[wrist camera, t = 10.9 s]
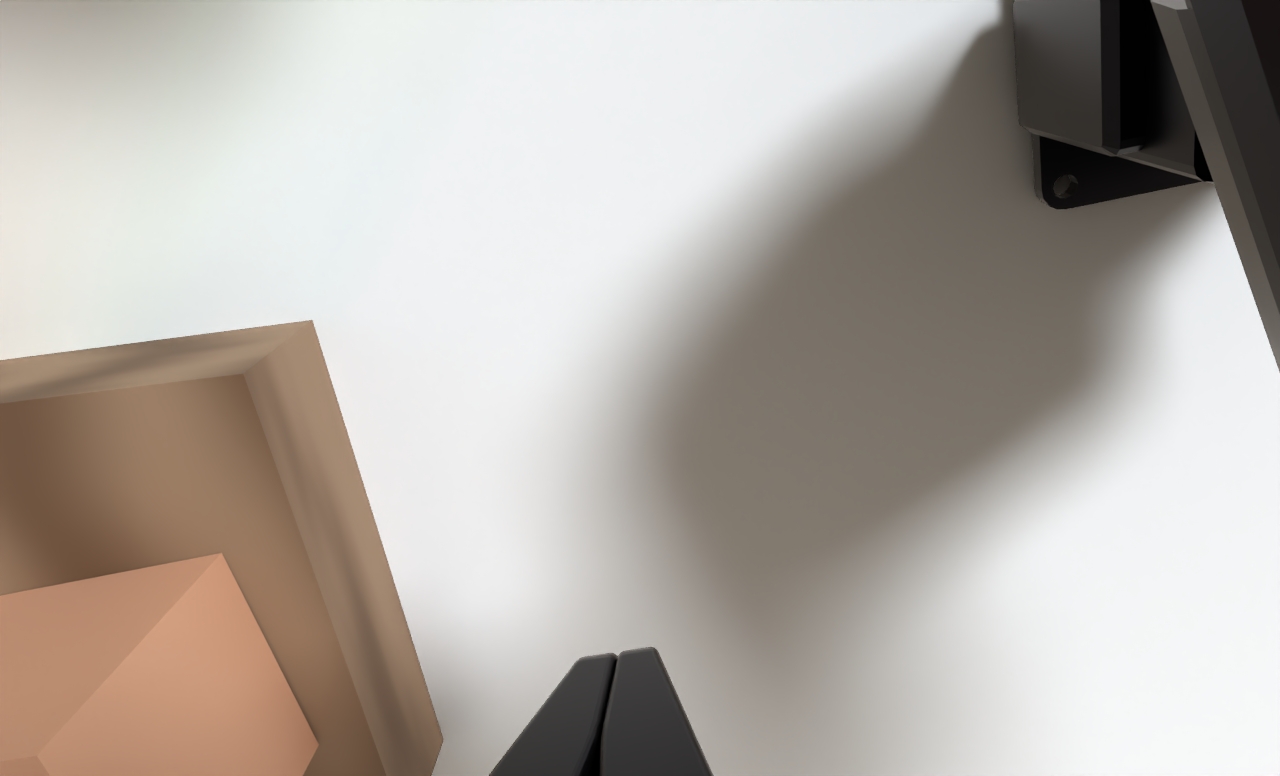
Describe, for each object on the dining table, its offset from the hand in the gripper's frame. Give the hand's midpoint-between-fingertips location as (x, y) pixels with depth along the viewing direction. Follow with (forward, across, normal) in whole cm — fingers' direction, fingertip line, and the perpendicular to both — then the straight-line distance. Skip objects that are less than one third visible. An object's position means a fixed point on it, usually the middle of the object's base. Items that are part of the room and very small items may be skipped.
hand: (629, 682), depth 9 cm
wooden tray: (+13, +14, +5) cm, 20 cm away
